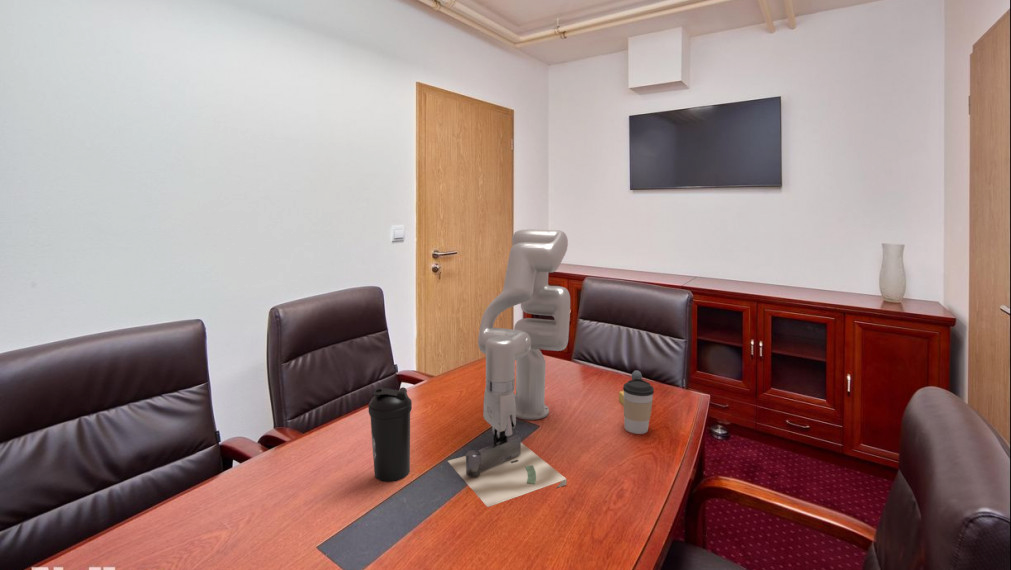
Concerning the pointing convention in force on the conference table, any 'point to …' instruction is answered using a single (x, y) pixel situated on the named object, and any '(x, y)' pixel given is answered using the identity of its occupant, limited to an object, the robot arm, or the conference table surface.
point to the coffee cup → (637, 405)
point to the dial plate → (510, 477)
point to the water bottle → (390, 433)
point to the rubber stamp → (635, 375)
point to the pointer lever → (492, 455)
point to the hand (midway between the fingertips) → (500, 448)
